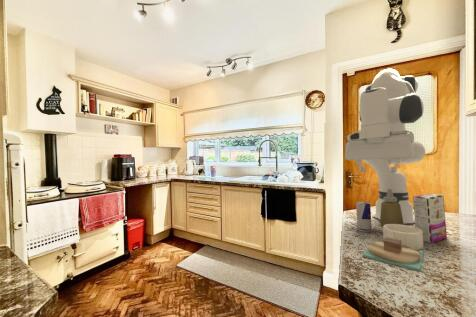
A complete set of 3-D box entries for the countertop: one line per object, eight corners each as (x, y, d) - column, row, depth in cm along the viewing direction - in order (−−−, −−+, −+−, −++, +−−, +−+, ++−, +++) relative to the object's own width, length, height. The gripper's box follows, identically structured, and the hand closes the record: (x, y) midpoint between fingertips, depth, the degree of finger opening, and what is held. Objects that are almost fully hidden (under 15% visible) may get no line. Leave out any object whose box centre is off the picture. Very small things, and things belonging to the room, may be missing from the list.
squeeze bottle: (402, 236, 80) (399, 190, 81) (377, 231, 86) (375, 189, 87) (406, 231, 86) (403, 188, 86) (383, 227, 92) (381, 187, 92)
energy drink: (374, 232, 86) (372, 203, 86) (360, 232, 87) (358, 203, 87) (368, 228, 91) (367, 201, 91) (355, 228, 92) (354, 201, 92)
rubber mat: (373, 243, 74) (373, 241, 74) (423, 254, 65) (423, 252, 65) (363, 256, 65) (362, 254, 65) (420, 271, 55) (420, 269, 55)
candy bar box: (430, 234, 81) (428, 193, 82) (447, 238, 77) (444, 194, 77) (414, 239, 77) (412, 195, 77) (431, 244, 72) (428, 197, 73)
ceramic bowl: (387, 236, 81) (386, 222, 81) (424, 243, 73) (423, 227, 73) (381, 244, 73) (380, 229, 73) (422, 253, 66) (421, 236, 66)
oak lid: (373, 242, 74) (373, 230, 74) (421, 252, 65) (421, 239, 65) (364, 254, 65) (363, 241, 65) (418, 268, 56) (417, 252, 56)
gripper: (414, 129, 68) (416, 171, 68) (347, 137, 83) (350, 171, 83) (412, 128, 64) (415, 172, 64) (342, 136, 78) (344, 172, 78)
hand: (377, 171), depth 73 cm, fingers open, 8 cm apart
